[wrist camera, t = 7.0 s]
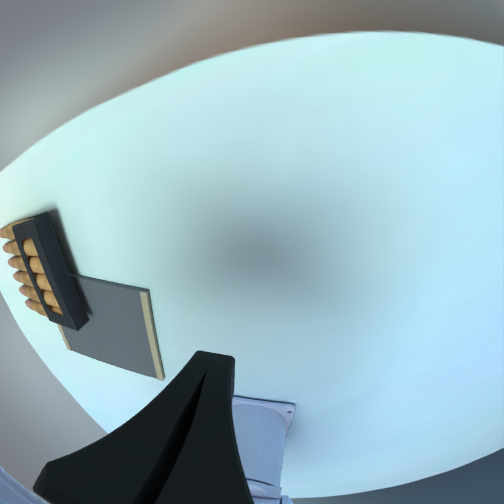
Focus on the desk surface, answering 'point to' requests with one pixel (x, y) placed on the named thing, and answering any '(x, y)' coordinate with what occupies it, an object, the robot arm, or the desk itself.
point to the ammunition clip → (44, 271)
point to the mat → (116, 327)
